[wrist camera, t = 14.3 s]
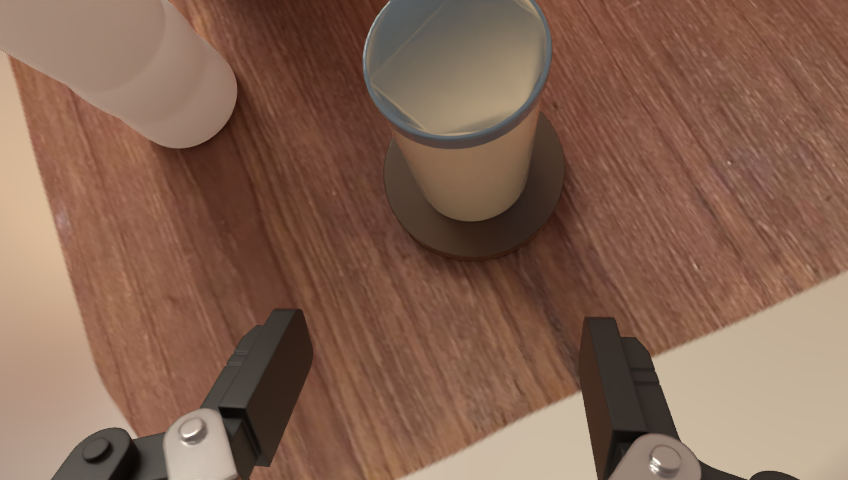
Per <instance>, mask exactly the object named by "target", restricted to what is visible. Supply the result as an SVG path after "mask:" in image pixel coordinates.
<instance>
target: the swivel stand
mask: <svg viewBox="0 0 848 480" xmlns="http://www.w3.org/2000/svg"><path fill="white" fill-rule="evenodd" d="M564 178H565V161H564V154H563V149H562V145H561V142H560V140H559V137H558V135H557V133H556V131H555V129H554V128H553V126H552V124H551V123H550V121H549V120H548V119H547V118H546V116H545V115H544V114H543V113H542V112H541V111H540V112H539V118H538V124H537V129H536V135H535V141H534V146H533V152H532V158H531V163H530V169H529V175H528V179H527V183H526V185H525V188H524V190H523V192H522V193H521V195H520V196H519V198H518V199H517V200H516V201H515V203H514V204H513V205H511V206H510V207H509V208H508V209H507V210H505V211H504V212H502V213H501V214H499V215H497V216H495V217H492V218H489V219H486V220H482V221H460V220H456V219H452V218H449V217H447V216H445V215H443V214H441V213H440V212H438V211H437V210H435V209H434V208H433V207H432V206H431V205H430V204H429V203H428V202H427V201H426V199H425V198H424V196H423V195H422V193H421V191H420V189H419V187H418V185H417V183H416V181H415V179H414V177H413V175H412V173H411V171H410V169H409V167H408V165H407V163H406V161H405V159H404V157H403V155H402V153H401V151H400V149H399V147H398V145H397V143H396V141H395V139H394V137H392V139H391V141H390V144H389V146H388V149H387V153H386V157H385V162H384V186H385V192H386V196H387V199H388V202H389V205H390V207H391V209H392V211H393V213H394V215H395V216H396V218H397V219H398V221H399V222H400V224H401V225H402V226H403V228H404V229H405V230H406V231H407V232H408V233H409V235H410V236H411V237H412V238H413V239H415V240H416V241H417V242H418V243H419V244H421V245H422V246H423V247H425V248H426V249H428V250H430V251H432V252H434V253H436V254H438V255H441V256H443V257H446V258H450V259H454V260H459V261H471V262H472V261H486V260H491V259H496V258H499V257H502V256H505V255H508V254H510V253H512V252H514V251H516V250H518V249H520V248H521V247H523V246H524V245H526V244H527V243H529V242H530V241H531V240H532V239H533V238H535V237H536V236H537V235H538V234H539V232H540V231H541V230H542V229H543V228H544V227H545V225H546V224H547V222H548V221H549V220H550V218H551V216H552V214H553V212H554V210H555V208H556V206H557V203H558V201H559V198H560V195H561V192H562V189H563V184H564Z"/></svg>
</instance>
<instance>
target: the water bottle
mask: <svg viewBox="0 0 848 480" xmlns="http://www.w3.org/2000/svg"><path fill="white" fill-rule="evenodd" d="M0 50H2V51H4V52H5V53H7V54H9V55H11V56H12V57H14V58H16V59H18V60H19V61H21V62H23V63H25V64H27V65H28V66H30V67H32V68H34V69H36V70H38V71H40V72H42V73H44V74H45V75H47V76H49V77H51V78H53V79H55V80H58V81H60V82H62V83H64V84H66V85H67V86H68V87H69V88H70V89H71V90H73V91H74V92H75V93H76V94H77V95H79V96H80V97H81V98H83V99H84V100H86V101H87V102H89V103H90V104H92V105H93V106H95V107H97V108H99V109H100V110H102V111H104V112H106V113H108V114H110V115H113V116H115V117H118V118H120V119H121V120H122V121H123V122H125V123H126V124H127V125H128V126H130V127H131V128H132V129H134V130H135V131H137V132H138V133H140V134H141V135H143V136H144V137H146V138H148V139H149V140H151V141H153V142H155V143H157V144H159V145H162V146H165V147H169V148H188V147H192V146H196V145H199V144H201V143H203V142H205V141H207V140H208V139H210V138H211V137H213V136H214V135H215V134H217V133H218V132H219V131H220V130H221V129H222V128H223V126H224V125H225V124H226V123H227V121H228V120H229V118H230V116H231V114H232V112H233V110H234V107H235V103H236V98H237V83H236V78H235V75H234V73H233V71H232V69H231V67H230V65H229V64H228V63H227V61H226V60H225V59H224V58H223V57H222V56H221V55H220V54H219V53H218V52H217V50H216V49H214V48H213V47H212V46H211V45H210V44H209V43H208V42H207V41H206V40H205V39H203V38H202V37H201V36H200V35H198V34H197V33H196V32H195V31H194V29H193V28H192V27H191V25H190V24H189V22H188V21H187V20H186V19H185V18H184V16H183V15H182V14H181V13H180V12H179V11H178V10H177V9H176V8H175V7H174V6H173V5H172V4H171V3H170V2H169V1H168V0H0Z"/></svg>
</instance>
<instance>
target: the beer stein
mask: <svg viewBox="0 0 848 480" xmlns="http://www.w3.org/2000/svg"><path fill="white" fill-rule="evenodd" d="M551 61H552V38H551V32H550V29H549V26H548V23H547V20H546V18H545V16H544V14H543V12H542V10H541V9H540V7H539V6H538V5H537V3H536V2H535V1H534V0H390V1H389V2H388V3H387V4H386V5H385V6H384V7H383V9H382V10H381V11H380V13H379V14H378V15H377V17H376V18H375V20H374V22H373V24H372V26H371V28H370V30H369V33H368V35H367V38H366V41H365V46H364V51H363V61H362V64H363V75H364V80H365V84H366V87H367V90H368V93H369V95H370V97H371V99H372V101H373V103H374V105H375V106H376V108H377V110H378V112H379V113H380V115H381V116H382V117H383V119H384V120H385V121H386V123H387V125H388V127H389V129H390V131H391V133H392V135H393V137H394V139H395V141H396V143H397V145H398V147H399V149H400V151H401V153H402V155H403V157H404V159H405V161H406V163H407V165H408V167H409V169H410V171H411V173H412V175H413V177H414V179H415V181H416V183H417V185H418V187H419V189H420V191H421V193H422V195H423V196H424V198H425V199H426V201H427V202H428V203H429V204H430V205H431V206H432V207H433V208H434V209H435V210H437V211H438V212H440V213H441V214H443V215H445V216H447V217H449V218H452V219H456V220H460V221H482V220H486V219H489V218H492V217H495V216H497V215H499V214H501V213H502V212H504V211H505V210H507V209H508V208H509V207H510V206H511V205H513V204H514V203H515V201H516V200H517V199H518V198H519V196H520V195H521V193H522V192H523V190H524V188H525V185H526V183H527V179H528V175H529V169H530V163H531V158H532V152H533V146H534V141H535V135H536V129H537V124H538V118H539V112H540V106H541V101H542V95H543V92H544V90H545V88H546V84H547V81H548V77H549V73H550V67H551Z"/></svg>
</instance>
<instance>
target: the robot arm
mask: <svg viewBox="0 0 848 480" xmlns="http://www.w3.org/2000/svg"><path fill="white" fill-rule="evenodd" d="M312 360H313V347H312V343H311V339H310V335H309V332H308V328H307V324H306V321H305V317H304V314H303V311H302V310H301V309H286V308H275V309H274V310H273V311H272V312H271V314H270V316H269V317H268V319H267V321H266V323H265V324H264V325H256V326H255V327H254V328H253V329H252V330H251V331H249V332H248V333H247V334H246V335H245V336H244V337H242V339H241V341H240V342H239V344H238V346H237V347H236V349H235V351H234V354H232V356H231V357H230V359H229V360H228V362H227V366H225V367H224V369H223V370H222V372H221V374H220V375H219V377H218V379H217V380H216V382H215V384H214V385H213V387H212V388H211V390H210V392H209V393H208V395H207V397H206V398H205V400H204V402H203V403H202V405H201V407H200V408H199V409H197V410H193V411H191V412H188V413H186V414H184V415H183V416H181V417H180V418H178V419H177V420H176V421H175V422H174V423H173V424H172V425H171V426H170V427H169V428H168V430H167V432H163V433H159V434H155V435H150V436H146V437H142V438H137V439H133V440H132V439H131V437H130V435H129V434H128V432H127V431H126V430H124V429H121V428H107V429H103V430H100V431H98V432H96V433H94V434H92V435H90V436H88V437H87V438H86V439H84V440H83V441H82V442H80V443H79V444H78V445H77V446H76V447H75V448H74V449H73V451H72V452H71V453H70V455H69V456H68V457H67V459H66V460H65V461H64V463H63V464H62V466H61V467H60V468H59V470H58V471H57V472H56V474H55V475H54V476H53V478H52V479H51V480H250V479H249V477H250V475H251V473H252V470H253V468H254V466H264V467H270V465H271V462H272V460H273V457H274V455H275V452H276V450H277V448H278V445H279V443H280V440H281V438H282V436H283V433H284V431H285V428H286V426H287V424H288V421H289V419H290V416H291V414H292V411H293V409H294V407H295V404H296V402H297V399H298V397H299V395H300V392H301V390H302V387H303V385H304V382H305V380H306V378H307V375H308V373H309V370H310V368H311V365H312ZM579 377H580V384H581V389H582V395H583V400H584V406H585V411H586V417H587V422H588V427H589V433H590V439H591V444H592V450H593V456H594V461H595V466H596V472H597V477H598V480H747V479H744V478H741V477H738V476H735V475H732V474H728V473H726V472H723V471H720V470H717V469H715V468H712V467H710V466H708V465H706V464H705V463H703V462H701V461H700V460H698V459H697V457H696V456H695V455H694V453H693V452H692V451H691V450H690V449H689V448H688V447H687V446H686V445H685V444H683V443H682V442H681V440H680V438H679V436H678V433H677V431H676V428H675V425H674V422H673V419H672V416H671V413H670V411H669V408H668V405H667V402H666V399H665V397H664V394H663V391H662V388H661V386H660V385H659V379H658V377H657V374H656V372H655V368H654V365H653V362H652V359H651V357H650V354H649V352H648V350H647V349H646V348H645V347H644V346H643V345H642V344H641V343H640V342H639V341H638V340H637V338H636V337H620V334H619V330H618V327H617V323H616V320H615V318H614V317H585V318H584V322H583V330H582V338H581V345H580V353H579ZM750 480H799V479H797V478H795V477H793V476H790V475H788V474H785V473H782V472H777V471H762V472H759V473H756V474H755V475H753V476H752V477H751V478H750Z"/></svg>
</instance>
